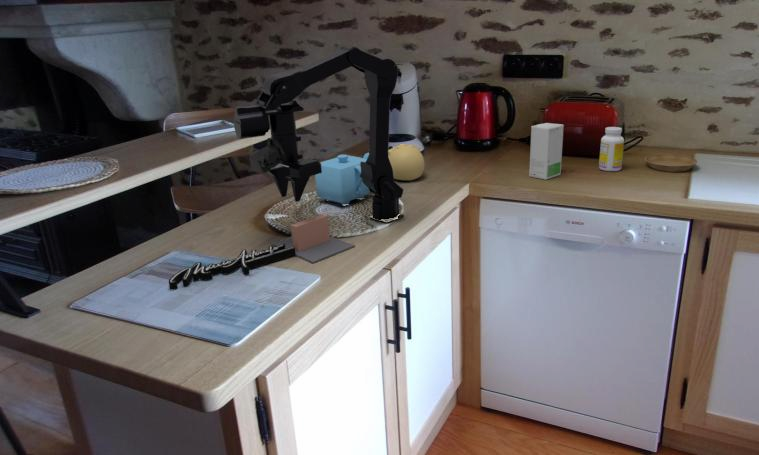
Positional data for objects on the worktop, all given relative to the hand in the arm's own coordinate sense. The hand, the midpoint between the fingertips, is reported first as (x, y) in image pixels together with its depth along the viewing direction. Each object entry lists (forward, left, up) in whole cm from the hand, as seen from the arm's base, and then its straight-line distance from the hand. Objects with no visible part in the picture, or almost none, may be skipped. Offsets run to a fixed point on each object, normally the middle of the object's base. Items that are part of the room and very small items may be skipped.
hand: (290, 199), depth 136 cm
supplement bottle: (-99, +30, -10) cm, 104 cm away
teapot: (-30, -13, -10) cm, 34 cm away
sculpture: (-53, -14, -10) cm, 56 cm away
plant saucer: (-112, +43, -10) cm, 120 cm away
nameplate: (+19, +4, -10) cm, 22 cm away
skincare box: (-81, +18, -10) cm, 84 cm away
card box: (0, +7, -10) cm, 12 cm away
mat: (0, +7, -10) cm, 12 cm away
